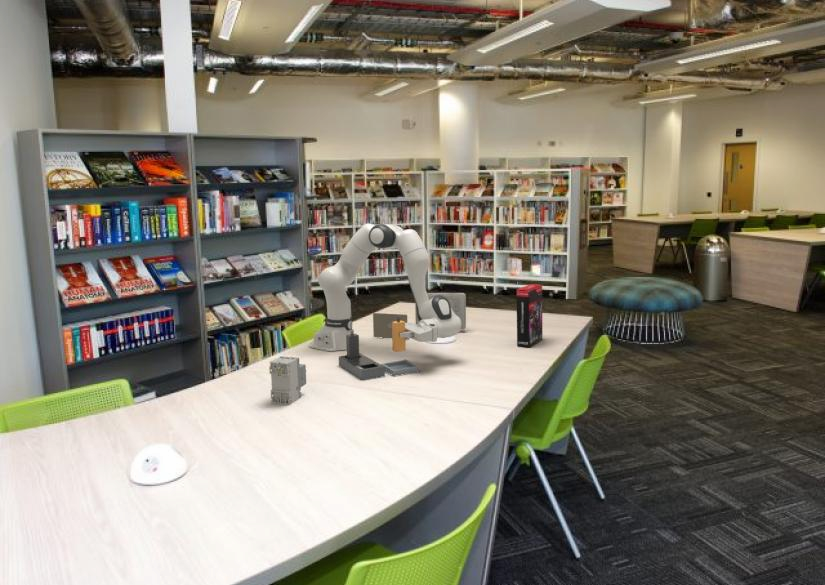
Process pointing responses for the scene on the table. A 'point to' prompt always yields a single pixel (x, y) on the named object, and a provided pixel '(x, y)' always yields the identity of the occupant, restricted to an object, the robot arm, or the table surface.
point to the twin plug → (352, 345)
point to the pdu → (362, 367)
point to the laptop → (385, 324)
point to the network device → (452, 305)
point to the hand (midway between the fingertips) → (396, 334)
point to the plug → (397, 341)
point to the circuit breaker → (286, 379)
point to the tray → (400, 367)
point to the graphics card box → (529, 315)
